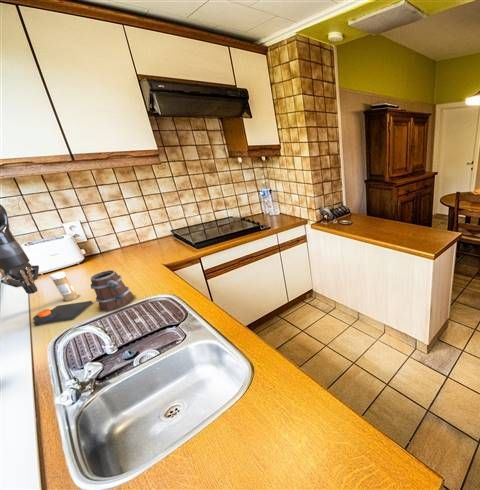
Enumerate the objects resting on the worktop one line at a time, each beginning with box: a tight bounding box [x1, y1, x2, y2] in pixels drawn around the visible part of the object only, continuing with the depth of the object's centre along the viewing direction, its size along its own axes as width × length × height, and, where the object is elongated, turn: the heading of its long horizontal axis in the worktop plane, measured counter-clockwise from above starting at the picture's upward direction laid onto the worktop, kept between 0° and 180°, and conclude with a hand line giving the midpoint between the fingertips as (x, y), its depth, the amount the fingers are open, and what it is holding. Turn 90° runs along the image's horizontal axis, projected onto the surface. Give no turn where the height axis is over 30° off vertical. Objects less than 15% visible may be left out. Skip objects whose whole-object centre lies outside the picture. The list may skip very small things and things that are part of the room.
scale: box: [32, 300, 93, 326], centre depth 114 cm, size 14×12×3 cm
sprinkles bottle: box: [49, 271, 79, 302], centre depth 123 cm, size 5×5×14 cm
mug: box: [90, 270, 135, 312], centre depth 116 cm, size 16×12×15 cm
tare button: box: [36, 308, 52, 318], centre depth 109 cm, size 4×4×2 cm
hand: (33, 292), depth 107 cm, fingers closed
